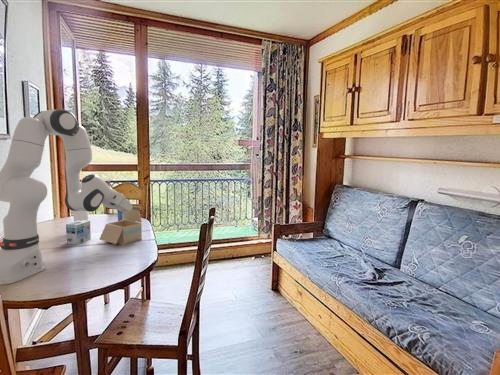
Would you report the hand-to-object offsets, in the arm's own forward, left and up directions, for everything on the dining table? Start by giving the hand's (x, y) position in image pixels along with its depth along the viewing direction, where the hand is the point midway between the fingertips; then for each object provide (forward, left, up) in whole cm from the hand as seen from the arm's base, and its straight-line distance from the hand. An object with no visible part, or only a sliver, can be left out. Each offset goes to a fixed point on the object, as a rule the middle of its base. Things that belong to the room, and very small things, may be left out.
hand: (125, 212), depth 171 cm
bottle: (+10, +32, -16) cm, 37 cm away
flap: (+4, -2, -2) cm, 5 cm away
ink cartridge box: (+25, +11, -16) cm, 32 cm away
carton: (-3, +1, -15) cm, 16 cm away
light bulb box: (-8, +22, -16) cm, 28 cm away
